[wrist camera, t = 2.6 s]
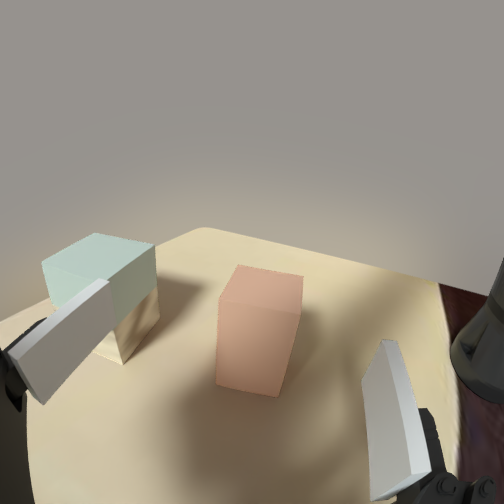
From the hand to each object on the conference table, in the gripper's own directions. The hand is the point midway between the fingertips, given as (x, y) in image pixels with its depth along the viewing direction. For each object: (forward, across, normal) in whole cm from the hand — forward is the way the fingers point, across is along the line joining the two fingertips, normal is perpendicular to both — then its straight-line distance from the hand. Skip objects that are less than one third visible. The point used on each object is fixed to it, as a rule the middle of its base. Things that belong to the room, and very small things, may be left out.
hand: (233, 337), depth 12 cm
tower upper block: (+10, -17, -8) cm, 21 cm away
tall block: (+10, 0, -13) cm, 16 cm away
